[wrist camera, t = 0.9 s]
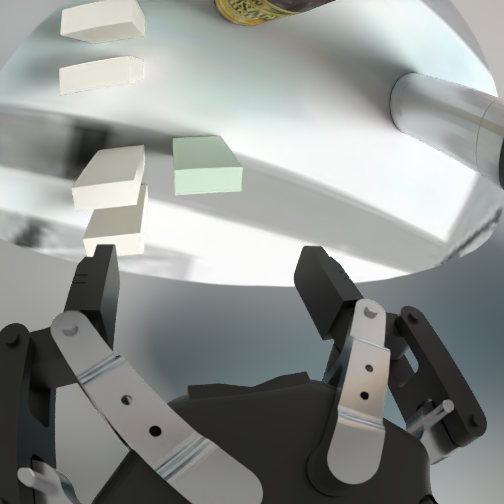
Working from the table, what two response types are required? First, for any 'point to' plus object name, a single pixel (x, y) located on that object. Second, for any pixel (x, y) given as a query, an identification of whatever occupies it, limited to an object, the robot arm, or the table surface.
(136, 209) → the domino
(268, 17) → the sauce bottle
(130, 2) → the domino
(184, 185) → the domino
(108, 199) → the domino
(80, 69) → the domino
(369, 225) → the table surface
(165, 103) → the table surface
